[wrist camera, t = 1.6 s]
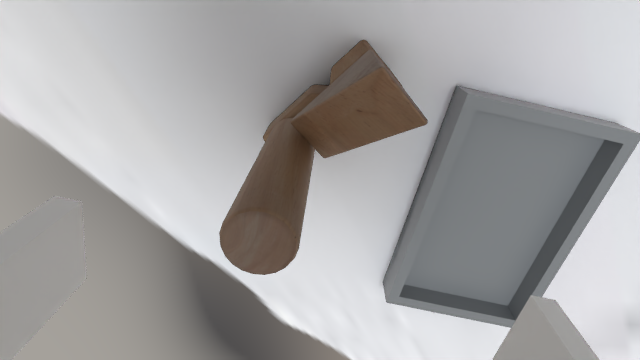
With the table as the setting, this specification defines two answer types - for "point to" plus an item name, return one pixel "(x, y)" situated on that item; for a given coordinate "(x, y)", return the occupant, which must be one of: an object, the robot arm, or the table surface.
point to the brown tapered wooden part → (311, 155)
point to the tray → (501, 205)
